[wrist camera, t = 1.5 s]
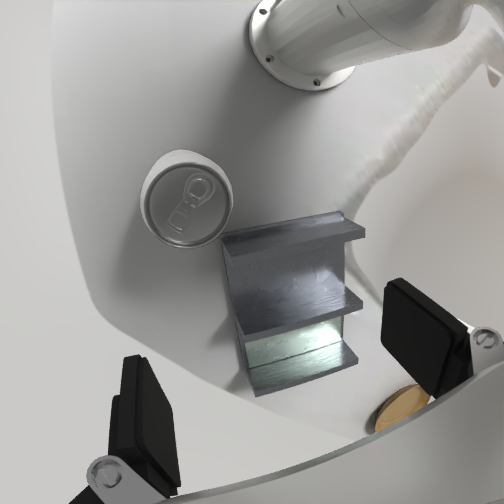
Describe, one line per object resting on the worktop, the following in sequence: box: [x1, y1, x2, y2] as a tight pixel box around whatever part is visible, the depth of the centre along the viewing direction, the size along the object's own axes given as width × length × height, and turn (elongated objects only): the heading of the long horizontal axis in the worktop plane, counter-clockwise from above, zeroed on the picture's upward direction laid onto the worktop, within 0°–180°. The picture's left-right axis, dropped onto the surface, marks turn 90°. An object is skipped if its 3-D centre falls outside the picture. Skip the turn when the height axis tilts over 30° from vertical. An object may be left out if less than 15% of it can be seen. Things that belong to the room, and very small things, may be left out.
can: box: [140, 150, 233, 249], centre depth 25 cm, size 6×6×12 cm
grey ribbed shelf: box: [220, 211, 365, 397], centre depth 36 cm, size 20×14×6 cm
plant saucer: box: [375, 384, 431, 432], centre depth 55 cm, size 15×15×3 cm
